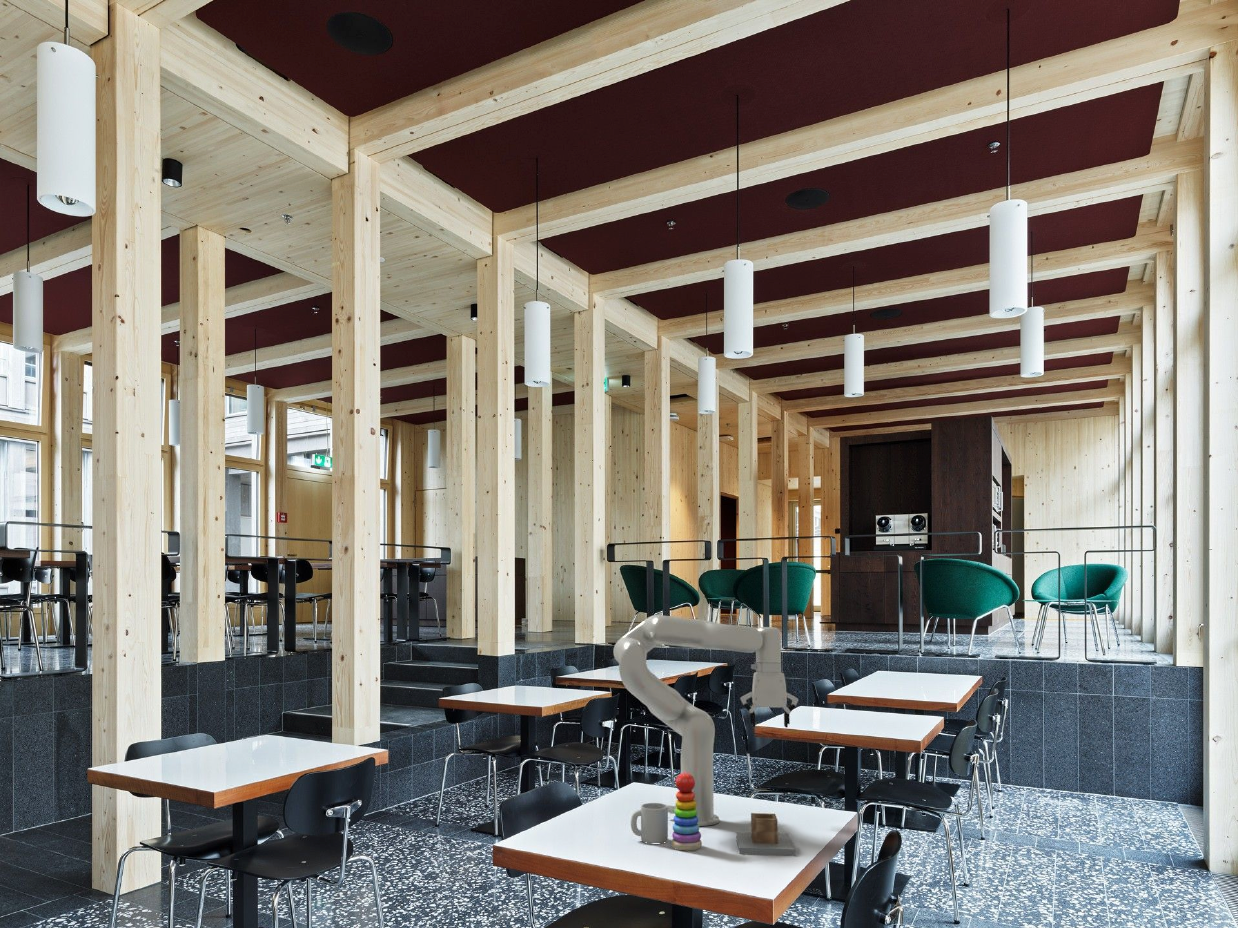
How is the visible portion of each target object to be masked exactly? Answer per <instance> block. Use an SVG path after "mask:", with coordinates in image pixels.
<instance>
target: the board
mask: <svg viewBox="0 0 1238 928" xmlns="http://www.w3.org/2000/svg"><path fill="white" fill-rule="evenodd" d="M735 833H736V834H735V836H736V837H735V838H736V843H737V846H738V847H737V848H738V853H739V854H740V855H762V856H763V855H764V856H765V855H766V856H767V855H768V856H793V855H794V856H796V849H795V846H794V844H793V842H792V839H791V837H790V834H789V833H788V832H787V833H786V832H785V833H784V832H783V833H782V832H778V844H757V843H753V841H752V837H751V831H749V832H748V831H746V832H744V831H736V832H735Z"/></svg>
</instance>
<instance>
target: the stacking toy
mask: <svg viewBox="0 0 1238 928" xmlns="http://www.w3.org/2000/svg"><path fill="white" fill-rule="evenodd" d="M675 786H676V788H677V790H678V791H677V793H676V794H675V798H676V801H675V806H676V807H677V808H675V811H674V817H673V822H674V823H673V824H672V831H673V832H672V839H671V847H672V848H674V849H675V848H676V849H675V850H678V849H679V850H678V851H683V850H691V851H696V850H699V849H701V847H702V846H703V845H702V844H703V843H702V840H701V838H702V833H701V832H700V831H699V830H700V826H699V825H698V824H697V823H698V817H697V816H696V815H697V809H696V808H695V807H696V805H697V804H696V801H695V800H694V798H695V794H694V792H692V790H693V788H694V786H695V780H694V778H693V776H692V775H691V774H689V773H681V772H680V774H678V775H677V776H676V779H675Z"/></svg>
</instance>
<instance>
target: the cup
mask: <svg viewBox="0 0 1238 928" xmlns="http://www.w3.org/2000/svg"><path fill="white" fill-rule="evenodd" d="M667 805H668V804H666V803H659V802H650V803H649V802H647V803H646V802H645V803H642V804H641V806H640V809H637V810H635V811H634V812H632V815H631V818H630V828H631V831H632V833H633V834H634V835H635V836H638V837H640V840H641V842H642V841H644V842H647V843H663V844H665V843H664V842H666V841H667V842H668V837H669V828H668V827H669V820H668V819H669V816H668V815H669V812H668V806H667ZM639 817H640V829H639V828H638V823H637V821H638V818H639ZM644 842H643V843H644ZM667 842H666V843H667ZM647 843H646V844H647Z"/></svg>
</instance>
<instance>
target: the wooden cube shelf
mask: <svg viewBox="0 0 1238 928" xmlns="http://www.w3.org/2000/svg"><path fill="white" fill-rule="evenodd" d="M750 828H751V831H750V832H751V837H752V841H753V843H757V844H778V833H779V831H778V830H779V829H778V828H779V826H778V818H777V815H776V813H760V812H757V813H755V812H751V813H750Z"/></svg>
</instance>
